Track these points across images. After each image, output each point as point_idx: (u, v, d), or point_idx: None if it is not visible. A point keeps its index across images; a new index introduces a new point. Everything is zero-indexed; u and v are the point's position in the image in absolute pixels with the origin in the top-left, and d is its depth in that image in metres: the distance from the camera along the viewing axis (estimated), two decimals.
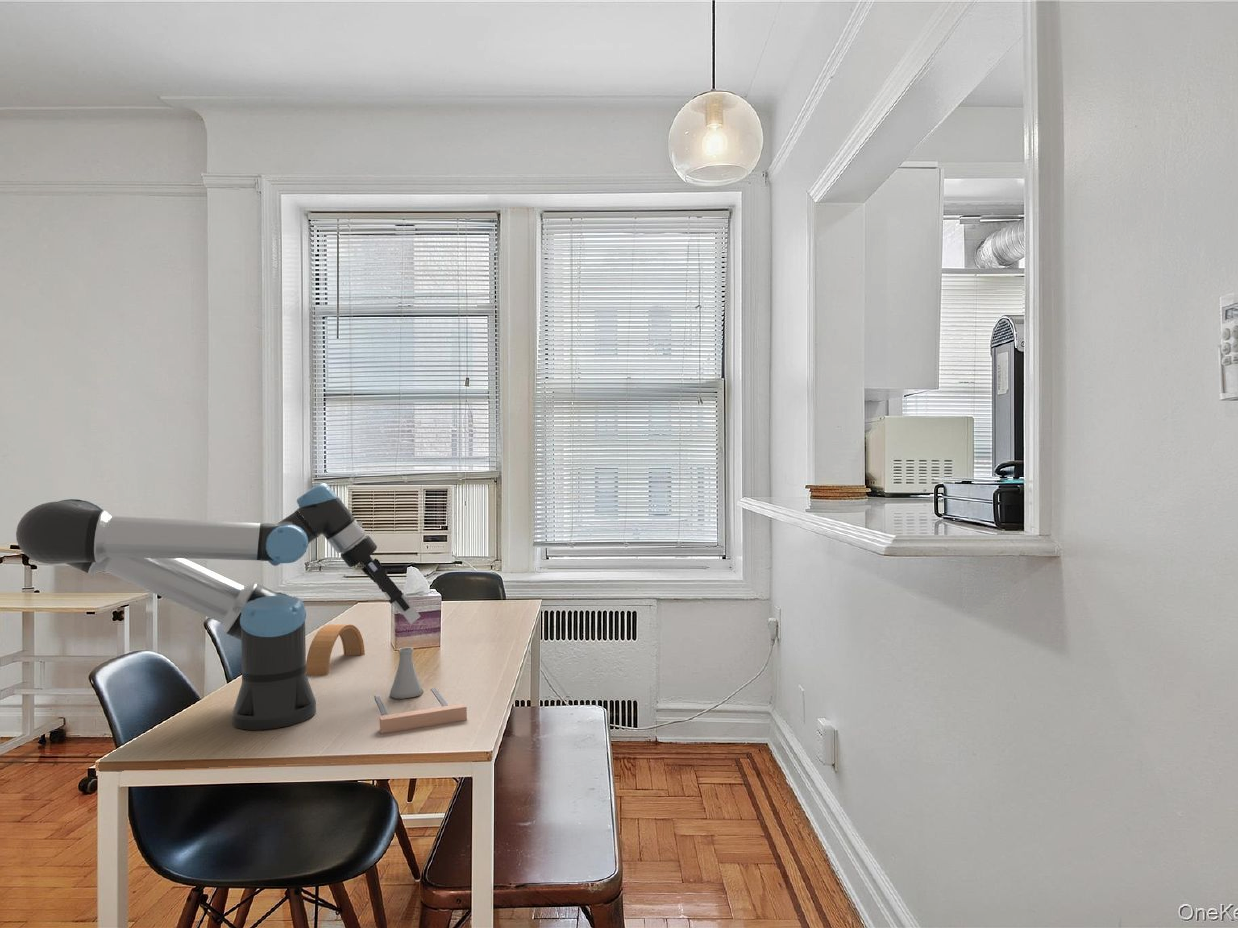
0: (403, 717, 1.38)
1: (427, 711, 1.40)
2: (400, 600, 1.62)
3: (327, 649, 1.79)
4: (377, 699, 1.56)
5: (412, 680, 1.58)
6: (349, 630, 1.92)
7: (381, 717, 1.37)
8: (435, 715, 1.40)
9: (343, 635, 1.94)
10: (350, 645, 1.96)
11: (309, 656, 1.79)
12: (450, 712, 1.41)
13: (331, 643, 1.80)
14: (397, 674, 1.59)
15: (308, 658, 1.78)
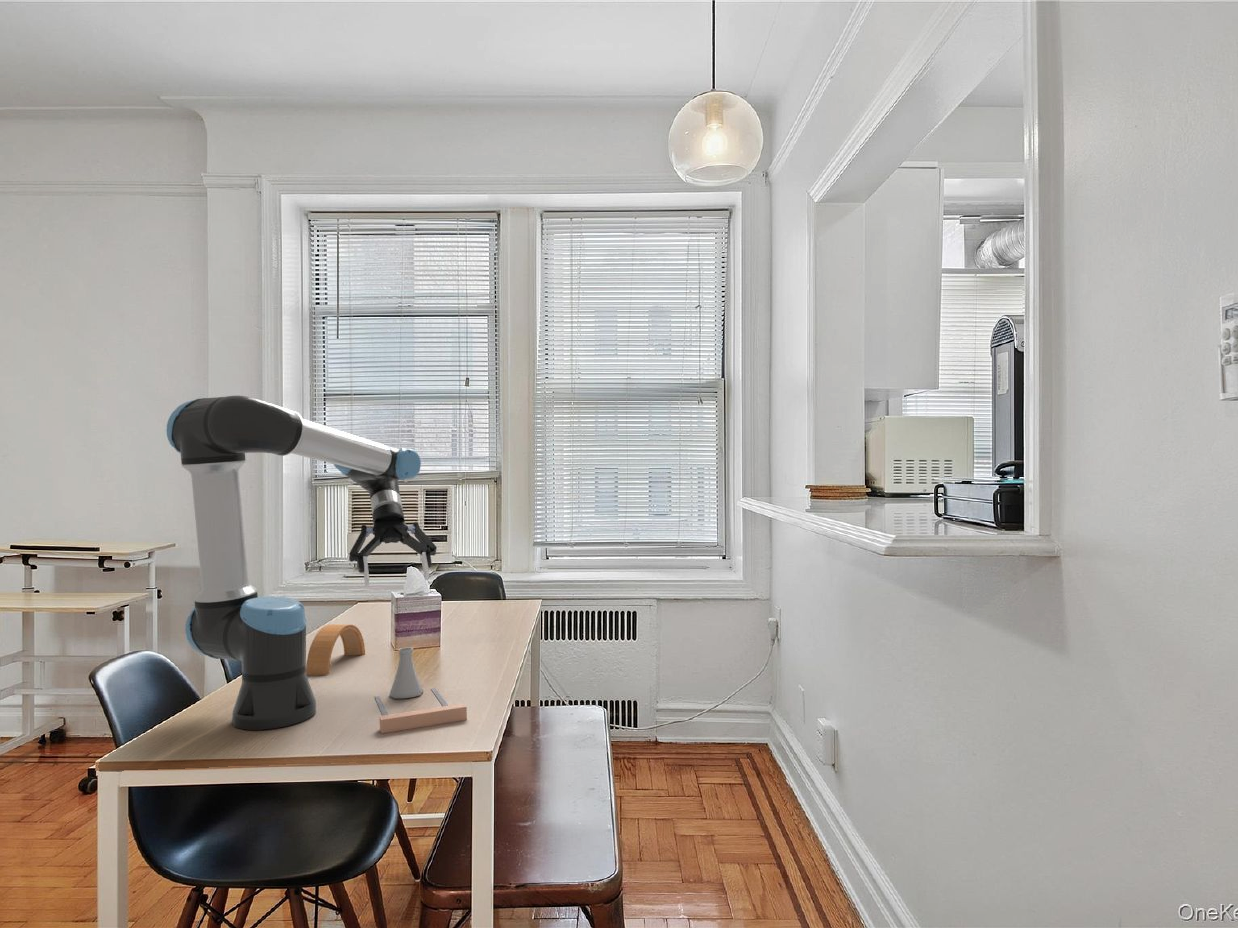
0: (403, 717, 1.38)
1: (427, 711, 1.40)
2: None
3: (327, 649, 1.79)
4: (377, 699, 1.56)
5: (412, 680, 1.58)
6: (349, 630, 1.92)
7: (381, 717, 1.37)
8: (435, 715, 1.40)
9: (344, 635, 1.94)
10: (351, 645, 1.96)
11: (309, 656, 1.79)
12: (450, 712, 1.41)
13: (331, 643, 1.80)
14: (397, 674, 1.59)
15: (308, 658, 1.79)
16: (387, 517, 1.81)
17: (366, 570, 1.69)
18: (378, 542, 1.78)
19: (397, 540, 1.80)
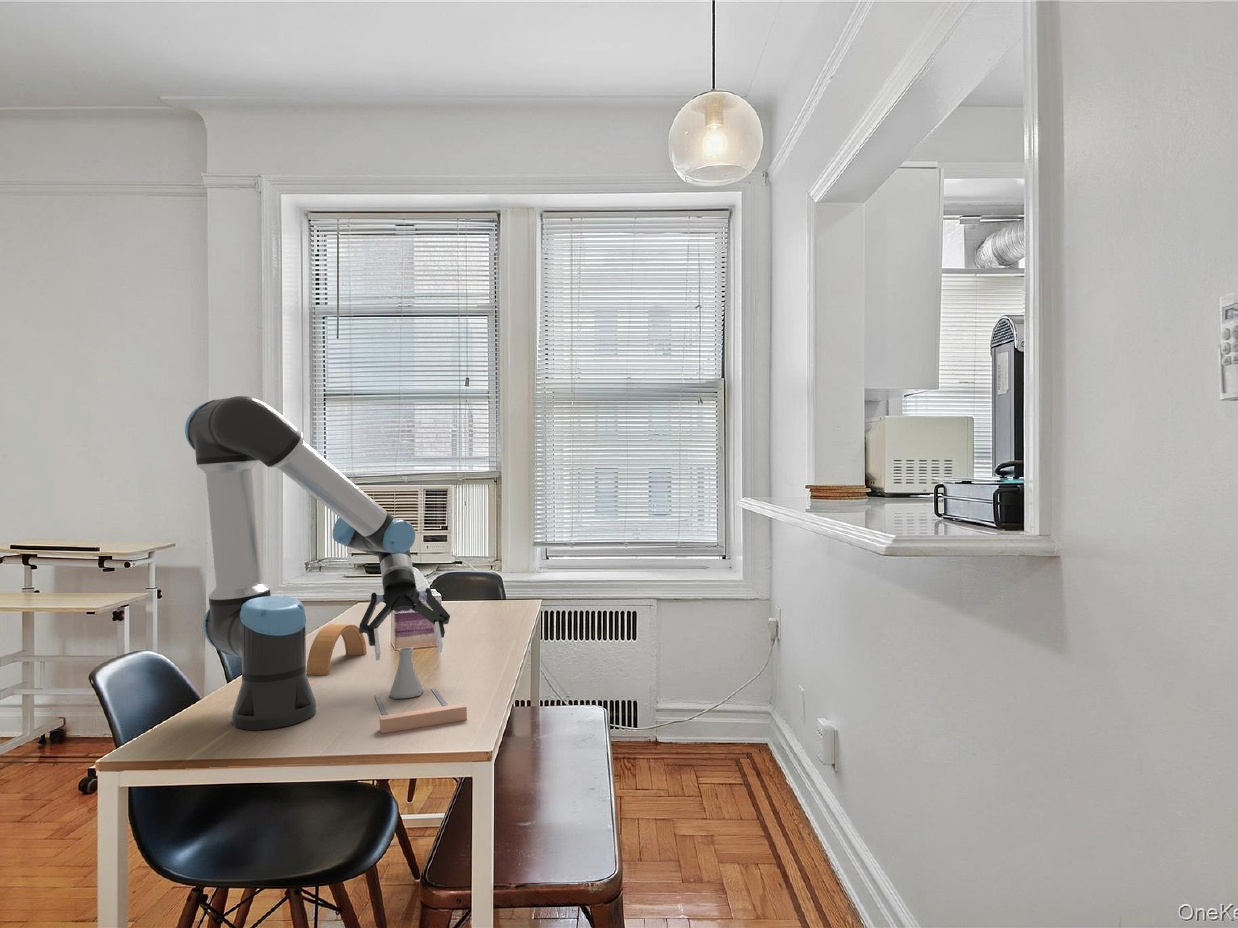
0: (403, 717, 1.38)
1: (427, 711, 1.40)
2: None
3: (328, 649, 1.79)
4: (377, 699, 1.56)
5: (412, 680, 1.58)
6: (351, 630, 1.92)
7: (381, 717, 1.37)
8: (435, 715, 1.40)
9: (345, 635, 1.94)
10: (352, 645, 1.96)
11: (310, 656, 1.79)
12: (450, 712, 1.41)
13: (332, 643, 1.80)
14: (397, 674, 1.59)
15: (309, 658, 1.79)
16: (398, 584, 1.73)
17: (377, 644, 1.61)
18: (389, 611, 1.70)
19: (408, 608, 1.72)
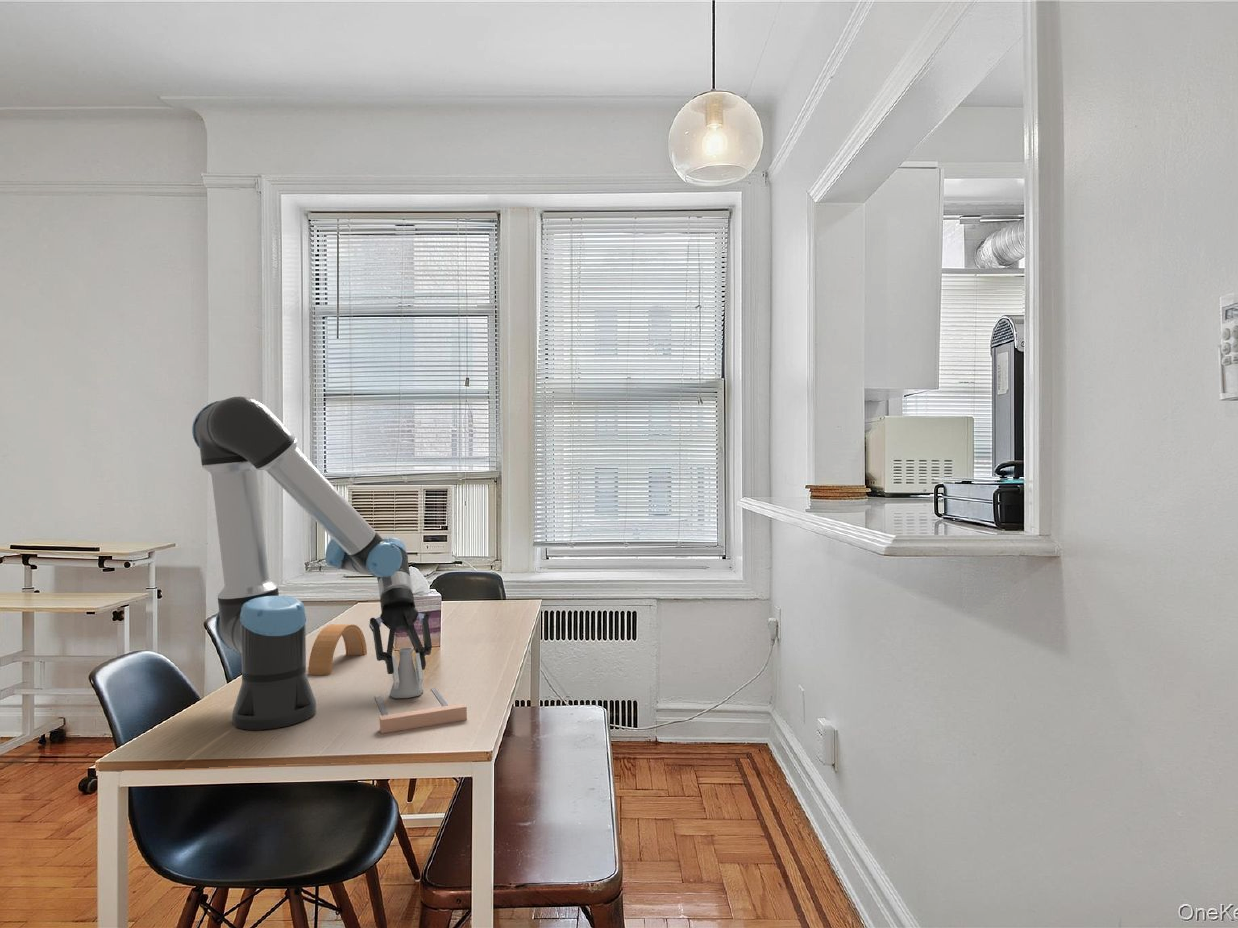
0: (403, 717, 1.38)
1: (427, 711, 1.40)
2: None
3: (330, 649, 1.79)
4: (377, 699, 1.56)
5: (412, 680, 1.58)
6: (351, 630, 1.92)
7: (381, 717, 1.37)
8: (435, 715, 1.40)
9: (345, 635, 1.94)
10: (352, 645, 1.96)
11: (312, 656, 1.79)
12: (450, 712, 1.41)
13: (334, 643, 1.80)
14: None
15: (311, 658, 1.79)
16: (396, 603, 1.67)
17: (396, 672, 1.56)
18: None
19: (407, 628, 1.66)
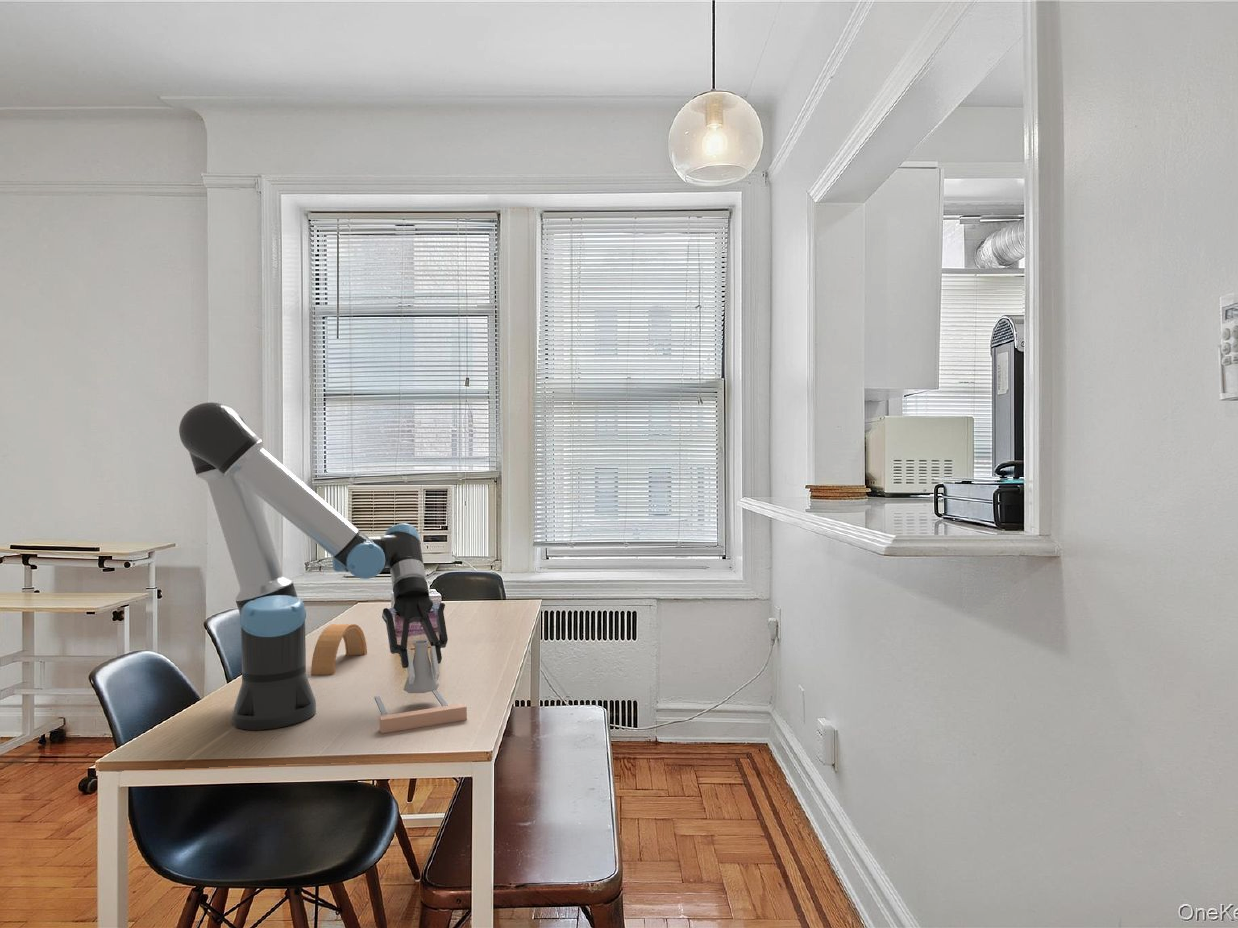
0: (403, 717, 1.38)
1: (427, 711, 1.40)
2: None
3: (333, 649, 1.79)
4: (377, 699, 1.56)
5: (428, 675, 1.52)
6: (352, 630, 1.92)
7: (381, 717, 1.37)
8: (435, 715, 1.40)
9: (346, 635, 1.94)
10: (352, 645, 1.96)
11: (315, 656, 1.79)
12: (450, 712, 1.41)
13: (337, 643, 1.80)
14: None
15: (314, 658, 1.79)
16: (410, 593, 1.60)
17: (411, 667, 1.49)
18: None
19: (421, 619, 1.59)
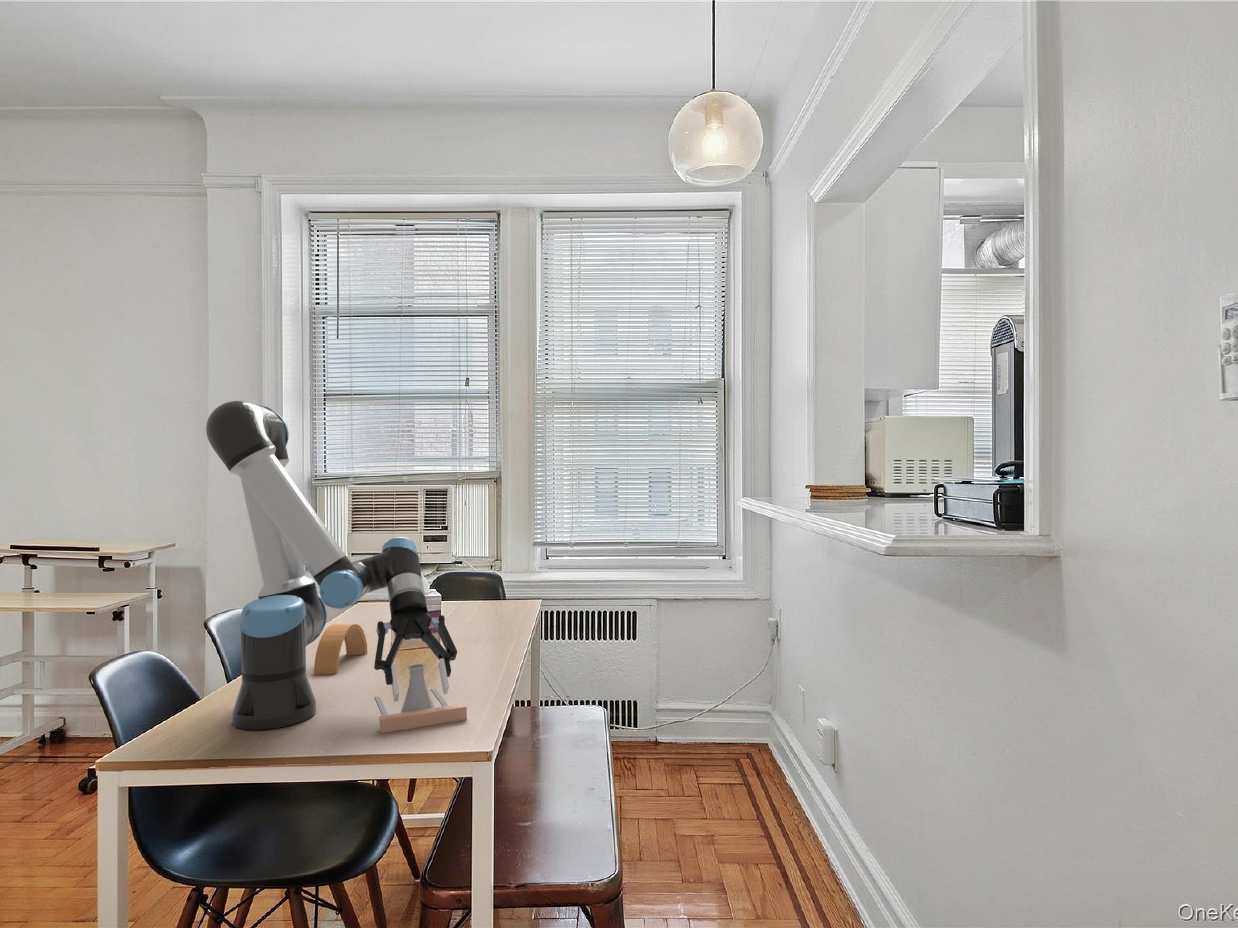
0: (403, 717, 1.38)
1: (427, 711, 1.40)
2: None
3: (336, 648, 1.80)
4: (377, 699, 1.56)
5: (425, 701, 1.44)
6: (353, 630, 1.92)
7: (381, 717, 1.37)
8: (435, 715, 1.40)
9: (346, 635, 1.95)
10: (353, 645, 1.96)
11: (317, 656, 1.79)
12: (450, 712, 1.41)
13: (339, 642, 1.81)
14: (408, 694, 1.44)
15: (316, 658, 1.79)
16: (407, 608, 1.52)
17: (395, 683, 1.41)
18: (401, 640, 1.49)
19: (419, 636, 1.51)
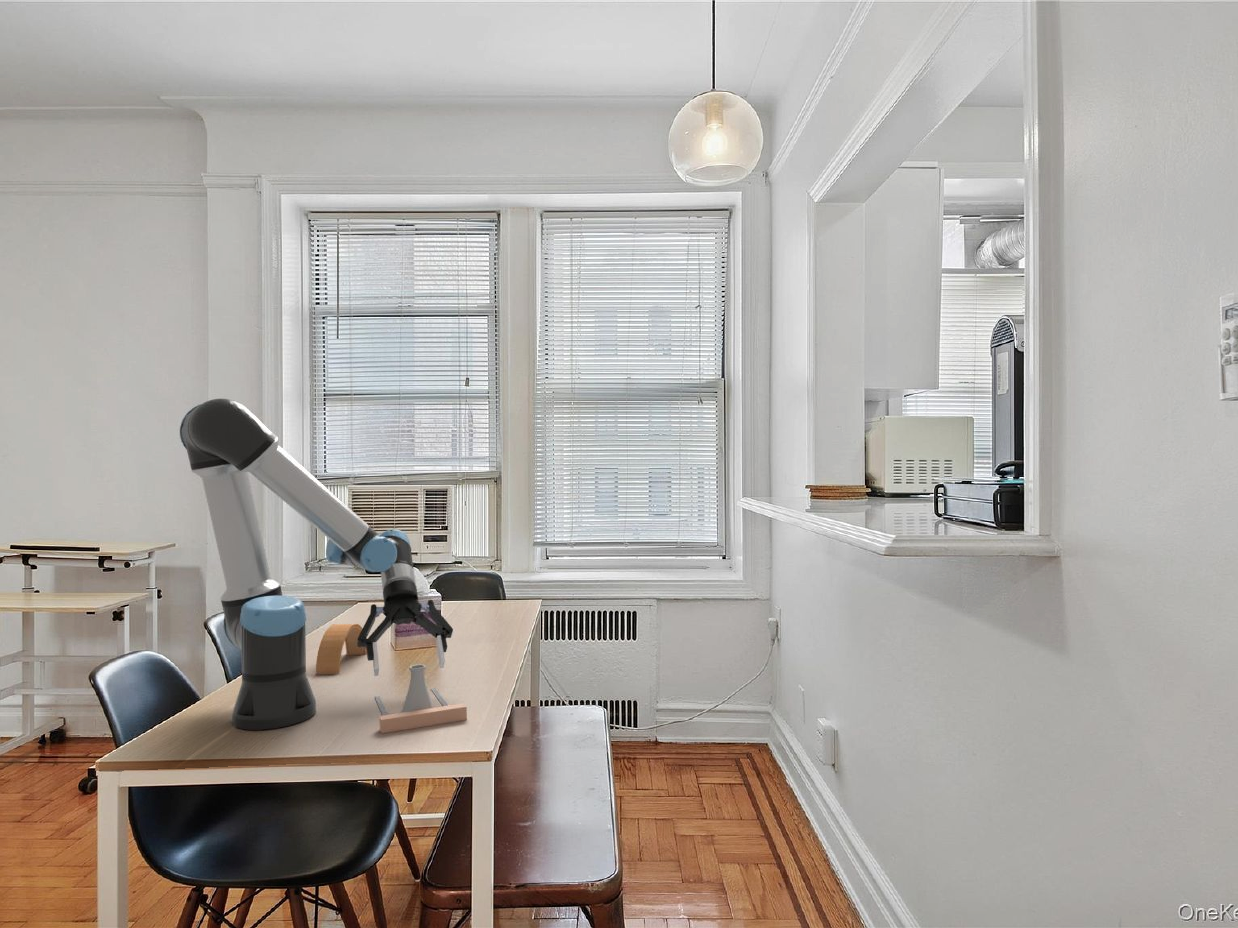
0: (403, 717, 1.38)
1: (427, 711, 1.40)
2: None
3: (337, 648, 1.80)
4: (377, 699, 1.56)
5: (425, 701, 1.44)
6: (354, 629, 1.92)
7: (381, 717, 1.37)
8: (435, 715, 1.40)
9: (347, 635, 1.95)
10: (353, 645, 1.96)
11: (319, 656, 1.79)
12: (450, 712, 1.41)
13: (341, 642, 1.81)
14: (408, 694, 1.44)
15: (318, 658, 1.79)
16: (399, 595, 1.65)
17: (376, 659, 1.53)
18: (389, 624, 1.62)
19: (410, 621, 1.64)
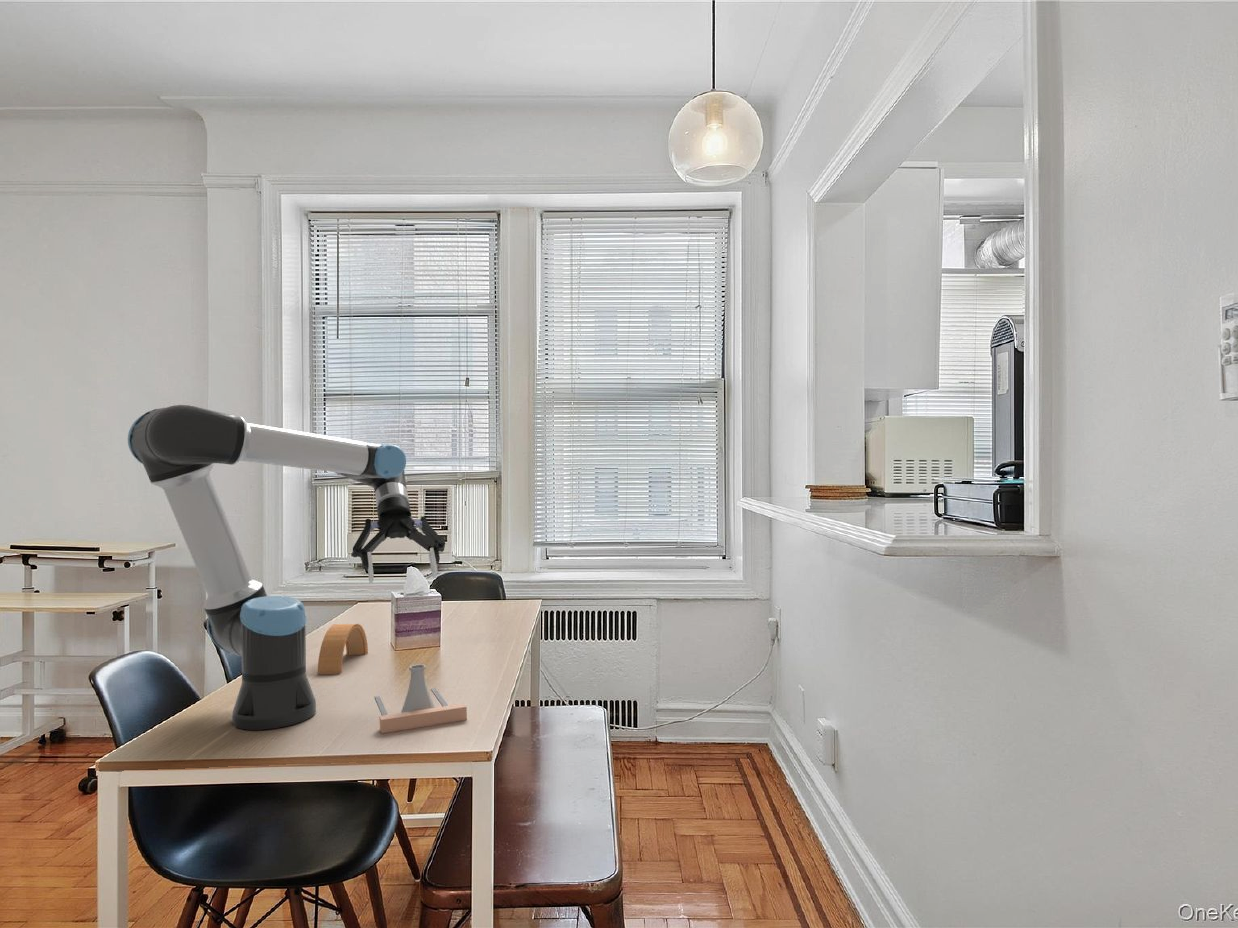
0: (403, 717, 1.38)
1: (427, 711, 1.40)
2: None
3: (339, 648, 1.80)
4: (377, 699, 1.56)
5: (425, 701, 1.44)
6: (355, 629, 1.92)
7: (381, 717, 1.37)
8: (435, 715, 1.40)
9: None
10: (353, 645, 1.96)
11: (321, 656, 1.79)
12: (450, 712, 1.41)
13: (343, 642, 1.81)
14: (408, 694, 1.44)
15: (320, 658, 1.79)
16: (393, 511, 1.70)
17: (370, 566, 1.58)
18: (383, 537, 1.67)
19: (403, 535, 1.69)
